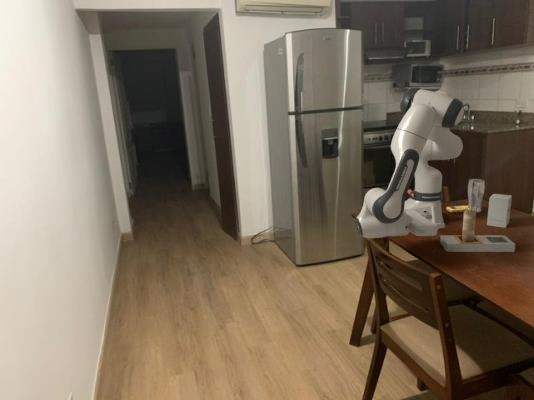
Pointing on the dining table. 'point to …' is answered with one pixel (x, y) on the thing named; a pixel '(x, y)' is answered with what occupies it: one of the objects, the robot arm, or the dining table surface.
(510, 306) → the dining table surface
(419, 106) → the robot arm
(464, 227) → the peg
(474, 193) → the beer glass
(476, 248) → the board
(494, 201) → the supplement box
